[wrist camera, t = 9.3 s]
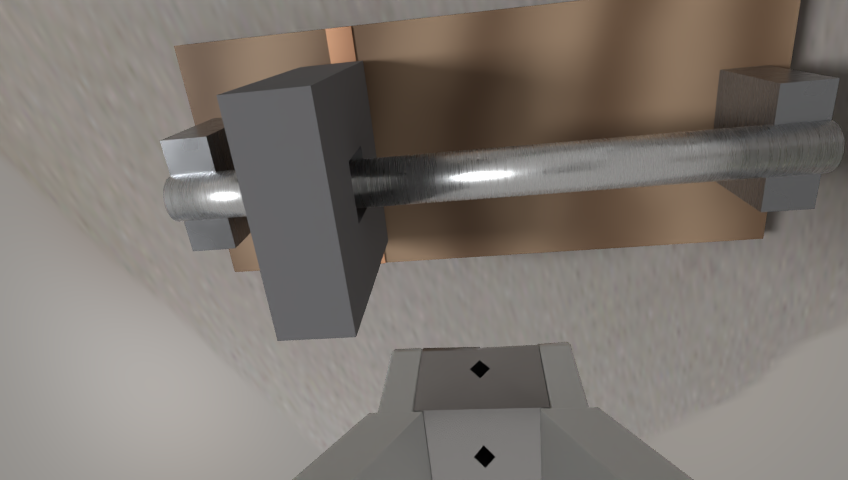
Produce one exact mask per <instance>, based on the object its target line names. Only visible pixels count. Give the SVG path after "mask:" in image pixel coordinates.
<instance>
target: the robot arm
mask: <svg viewBox="0 0 848 480" xmlns="http://www.w3.org/2000/svg"><path fill="white" fill-rule="evenodd" d="M293 480H693V479H692V478H691V477H689V476H688V475H687V474H685V473H684V472H682V471H681V470H680V469H679V468H677V467H676V466H675V465H673V464H672V463H671V462H670V461H668V460H667V459H665V458H664V457H663V456H662V455H660V454H659V453H658V452H656V451H655V450H654V449H652V448H651V447H650V446H648V445H647V444H646V443H644V442H643V441H642V440H641V439H639V438H638V437H637V436H635V435H634V434H633V433H631V432H630V431H629V430H627V429H626V428H625V427H623V426H622V425H621V424H619V423H618V422H617V421H615V420H614V419H613V418H611V417H610V416H609V415H608V414H606V413H605V412H604V411H602V410H601V409H600V408H598V407H595V408H589V406H588V403H587V400H586V396H585V393H584V389H583V386H582V383H581V379H580V376H579V372H578V369H577V365H576V362H575V359H574V355H573V352H572V348H571V345H570V344H569V343H568V342H561V343H547V344H538V345H526V346H506V347H486V348H480V347H460V348H423V349H421V348H413V349H395V350H394V351H393V352H392V354H391V358H390V362H389V366H388V371H387V375H386V379H385V384H384V388H383V392H382V397H381V401H380V405H379V410H378V413H369V414H368V415H367V416H365V417H364V418H363V419H362V420H361V421H360V422H358V423H357V424H356V425H355V426H354V427H353V428H351V429H350V430H349V431H348V432H347V433H346V434H345V435H343V436H342V437H341V438H340V439H339V440H338V441H336V442H335V443H334V444H333V445H332V446H331V447H330V448H328V449H327V450H326V451H325V452H324V453H323V454H321V455H320V456H319V457H318V458H317V459H316V460H315V461H313V462H312V463H311V464H310V465H309V466H308V467H306V468H305V469H304V470H303V471H302V472H301V473H299V474H298V475H297V476H296V477H295V478H294V479H293Z"/></svg>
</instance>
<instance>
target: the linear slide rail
mask: <svg viewBox="0 0 848 480" xmlns="http://www.w3.org/2000/svg"><path fill="white" fill-rule="evenodd" d="M839 79H840V78H837V77H831V76H825V75H820V74H814V73H809V72H803V71H797V70H792V69H786V68H780V67H775V66H769V65H763V66H753V67H742V68H732V69H722V70H720V73H719V82H718V91H717V100H716V110H715V119H714V128H713V129H710V130H698V131H686V132H674V133H663V134H651V135H639V136H627V137H616V138H604V139H592V140H580V141H568V142H557V143H545V144H533V145H521V146H509V147H498V148H486V149H474V150H462V151H451V152H439V153H427V154H415V155H403V156H392V157H380V158H368V159H356V160H349V167H350V173H351V179H352V185H353V192H354V198H355V204H356V208H367V207H380V206H394V205H407V204H420V203H434V202H447V201H461V200H474V199H487V198H501V197H514V196H527V195H541V194H554V193H567V192H581V191H594V190H607V189H621V188H634V187H647V186H661V185H674V184H687V183H701V182H714V181H715V182H717V183H718V184H720V185H721V186H723V187H724V188H726V189H727V190H729V191H730V192H732V193H733V194H735V195H736V196H737V197H739V198H740V199H742V200H743V201H745V202H746V203H748V204H749V205H751V206H752V207H754V208H755V209H757V210H758V211H760V212H773V211H788V210H802V209H814V208H815V203H816V198H817V192H818V187H819V182H820V177H821V173H830V172H832V171H834V170H835V169H836V168H837V167H838V166H839V164H840V162H841V160H842V158H843V154H844V147H845V141H844V135H843V132H842V130H841V128H840V126H839V125H838V124H837V123H836V122H835V121H833V120H832V115H833V110H834V105H835V100H836V95H837V90H838V84H839ZM160 143H161V146H162V149H163V153H164V156H165V159H166V163H167V166H168V169H169V173H170V177H169V178H168V179H167V180H166V182H165V185H164V190H163V198H164V204H165V207H166V210H167V212H168V214H169V215H170V217H171V218H172V219H173V220H175V221H178V222H180V221H184V223H185V226H186V229H187V233H188V236H189V239H190V243H191V246H192V249H193V251H203V250H218V249H233V248H236V247H237V246H238V245H239V244H240V243H241V242H242V241H243V240H244V239H245V238H246V237H247V236H248V235H249V234H250V233H251V232H250V228H249V224H248V220H247V216H246V212H245V208H244V204H243V200H242V196H241V192H240V188H239V184H238V180H237V176H236V172H235V168H234V164H233V160H232V156H231V152H230V148H229V144H228V140H227V136H226V132H225V128H224V124H223V120H222V118H213V119H210V120H208V121H206V122H203V123H201V124H198V125H196V126H194V127H191V128H189V129H187V130H184V131H182V132H180V133H177V134H175V135H173V136H170V137H168V138H165V139H163V140H161V141H160Z"/></svg>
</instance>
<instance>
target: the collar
mask: <svg viewBox="0 0 848 480" xmlns="http://www.w3.org/2000/svg"><path fill="white" fill-rule="evenodd" d="M216 96H217V100H218V104H219V108H220V112H221V116H222V120H223V124H224V128H225V132H226V136H227V140H228V144H229V148H230V152H231V156H232V160H233V164H234V168H235V172H236V176H237V180H238V184H239V188H240V192H241V196H242V200H243V204H244V208H245V212H246V216H247V220H248V224H249V228H250V232H251V236H252V240H253V244H254V248H255V252H256V256H257V260H258V264H259V268H260V272H261V276H262V280H263V284H264V288H265V292H266V296H267V300H268V304H269V308H270V312H271V316H272V320H273V324H274V328H275V332H276V336H277V340H278V341H285V340H305V339H326V338H346V337H356V336H357V333H358V330H359V327H360V324H361V321H362V318H363V315H364V312H365V309H366V306H367V303H368V300H369V297H370V294H371V291H372V288H373V285H374V282H375V279H376V276H377V273H378V270H379V267H380V264H381V261H382V258H383V255H384V252H385V249H386V246H387V243H388V234H387V227H386V220H385V213H384V206H380V207H367V208H356V204H355V198H354V192H353V185H352V179H351V173H350V167H349V160H356V159H368V158H377V156H376V149H375V142H374V135H373V128H372V121H371V114H370V107H369V100H368V92H367V85H366V78H365V71H364V64H363V61H354V62H345V63H335V64H326V65H316V66H306V67H299V68H296V69H293V70H290V71H287V72H284V73H281V74H278V75H275V76H272V77H269V78H266V79H263V80H260V81H257V82H254V83H251V84H248V85H245V86H242V87H239V88H236V89H233V90H230V91H228V92H225V93H222V94H219V95H216Z"/></svg>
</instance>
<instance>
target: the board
mask: <svg viewBox="0 0 848 480" xmlns="http://www.w3.org/2000/svg"><path fill="white" fill-rule="evenodd" d="M800 2H801V0H580V1H571V2H562V3H553V4H544V5H535V6H526V7H517V8H508V9H499V10H490V11H482V12H473V13H464V14H455V15H446V16H437V17H428V18H419V19H410V20H401V21H392V22H383V23H375V24H366V25H357V26H348V27H339V28H330V29H321V30H312V31H303V32H294V33H285V34H276V35H268V36H259V37H250V38H241V39H232V40H223V41H214V42H205V43H196V44H187V45H179V46H174V48H175V52H176V56H177V59H178V63H179V67H180V70H181V74H182V78H183V81H184V85H185V89H186V93H187V96H188V100H189V104H190V107H191V111H192V115H193V118H194V122H195V126H196V125H198V124H201V123H203V122H206V121H208V120H210V119H213V118H222V116H221V112H220V108H219V104H218V100H217V96H216V95H219V94H222V93H225V92H228V91H230V90H233V89H236V88H239V87H242V86H245V85H248V84H251V83H254V82H257V81H260V80H263V79H266V78H269V77H272V76H275V75H278V74H281V73H284V72H287V71H290V70H293V69H296V68H299V67H306V66H316V65H326V64H335V63H345V62H354V61H363V64H364V71H365V78H366V85H367V92H368V100H369V107H370V114H371V121H372V128H373V135H374V142H375V149H376V156H377V158H380V157H392V156H403V155H415V154H427V153H439V152H451V151H462V150H474V149H486V148H498V147H509V146H521V145H533V144H545V143H557V142H568V141H580V140H592V139H604V138H616V137H627V136H639V135H651V134H663V133H674V132H686V131H698V130H710V129H713V128H714V119H715V110H716V100H717V91H718V82H719V73H720V70H722V69H732V68H742V67H753V66H763V65H769V66H775V67H780V68H786V69H790V65H791V59H792V53H793V46H794V40H795V34H796V27H797V21H798V15H799V8H800ZM384 213H385V220H386V227H387V234H388V243H387V246H386V249H385V252H384V255H383V258H382V261H381V263H386V262H401V261H417V260H432V259H448V258H464V257H480V256H495V255H511V254H527V253H543V252H558V251H574V250H590V249H606V248H621V247H637V246H653V245H669V244H684V243H700V242H716V241H732V240H747V239H763V236H764V230H765V223H766V217H767V212H760V211H758V210H757V209H755V208H754V207H752V206H751V205H749V204H748V203H746V202H745V201H743V200H742V199H740V198H739V197H737V196H736V195H735V194H733V193H732V192H730V191H729V190H727V189H726V188H724V187H723V186H721V185H720V184H718V183H717V182H715V181H714V182H701V183H687V184H674V185H661V186H647V187H634V188H621V189H607V190H594V191H581V192H567V193H554V194H541V195H527V196H514V197H501V198H487V199H474V200H461V201H447V202H434V203H420V204H407V205H394V206H384ZM229 252H230V255H231V259H232V263H233V266H234V270H235V272H243V271H259V270H260V268H259V264H258V260H257V256H256V252H255V248H254V244H253V240H252V236H251V233H250V234H249V235H248V236H247V237H246V238H245V239H244V240H243V241H242V242H241V243H240V244H239V245H238V246H237V247H236V248H233V249H229Z"/></svg>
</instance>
